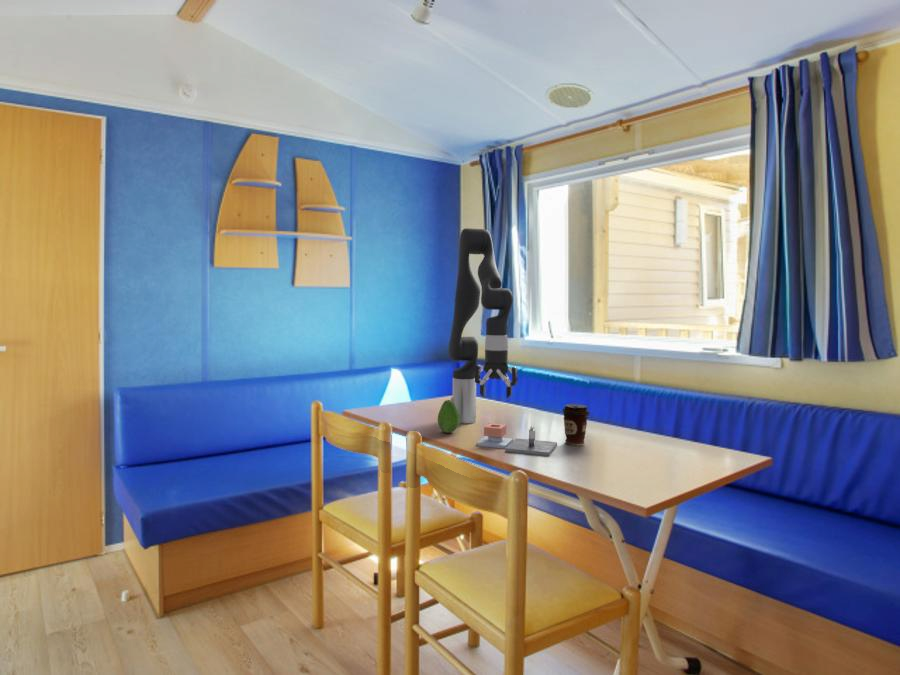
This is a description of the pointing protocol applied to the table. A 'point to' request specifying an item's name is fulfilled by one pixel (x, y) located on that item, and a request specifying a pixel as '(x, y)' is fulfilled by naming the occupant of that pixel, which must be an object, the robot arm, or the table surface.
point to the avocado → (448, 417)
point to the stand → (494, 442)
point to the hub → (531, 445)
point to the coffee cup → (575, 423)
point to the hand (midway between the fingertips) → (495, 396)
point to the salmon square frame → (495, 430)
